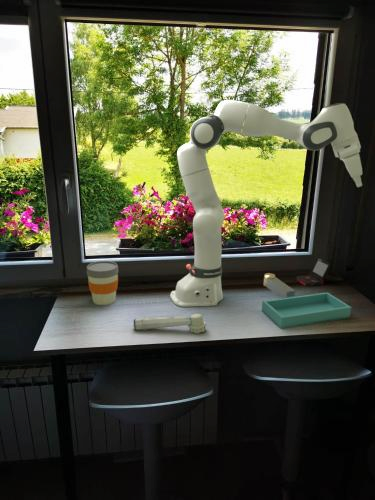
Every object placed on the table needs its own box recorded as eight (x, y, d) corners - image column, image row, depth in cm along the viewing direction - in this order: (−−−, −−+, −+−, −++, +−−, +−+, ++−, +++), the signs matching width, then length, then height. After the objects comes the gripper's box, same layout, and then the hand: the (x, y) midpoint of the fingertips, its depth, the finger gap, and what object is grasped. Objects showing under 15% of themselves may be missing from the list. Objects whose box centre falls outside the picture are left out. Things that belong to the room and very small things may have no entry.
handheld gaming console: (294, 279, 176) (297, 259, 173) (316, 276, 180) (318, 257, 177) (306, 286, 168) (309, 266, 165) (328, 284, 171) (331, 264, 168)
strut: (294, 300, 154) (296, 289, 152) (285, 301, 152) (286, 290, 151) (270, 282, 172) (271, 272, 170) (261, 283, 170) (262, 273, 169)
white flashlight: (135, 315, 131) (204, 308, 130) (138, 331, 133) (206, 325, 131) (132, 322, 126) (204, 315, 125) (135, 339, 128) (206, 333, 126)
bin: (280, 329, 131) (281, 317, 130) (261, 311, 144) (262, 301, 142) (349, 317, 140) (351, 307, 138) (325, 302, 152) (327, 292, 151)
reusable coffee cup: (112, 291, 159) (111, 258, 155) (124, 302, 149) (123, 267, 145) (84, 297, 153) (81, 264, 148) (94, 309, 143) (92, 273, 138)
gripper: (335, 147, 142) (346, 180, 145) (339, 155, 124) (352, 192, 127) (352, 141, 139) (363, 174, 143) (359, 147, 121) (371, 186, 124)
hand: (357, 183), depth 135 cm, fingers open, 8 cm apart
